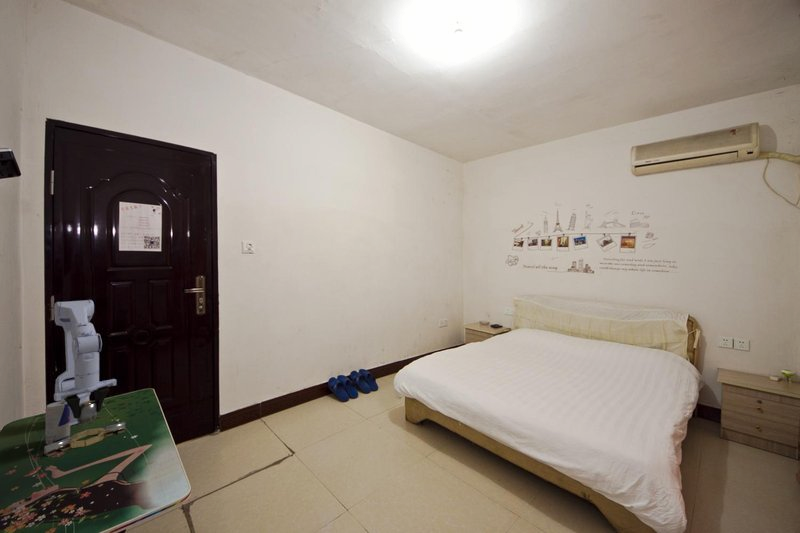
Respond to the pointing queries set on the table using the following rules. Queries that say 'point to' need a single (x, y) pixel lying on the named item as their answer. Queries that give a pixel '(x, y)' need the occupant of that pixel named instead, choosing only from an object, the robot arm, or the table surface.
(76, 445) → the collar
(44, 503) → the table surface
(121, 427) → the shaft
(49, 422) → the energy drink
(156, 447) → the table surface
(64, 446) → the shaft
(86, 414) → the hub
